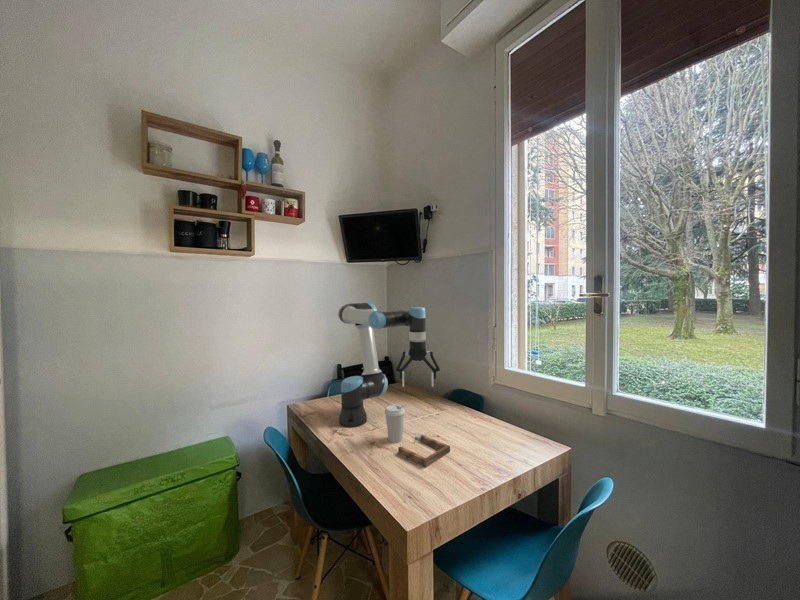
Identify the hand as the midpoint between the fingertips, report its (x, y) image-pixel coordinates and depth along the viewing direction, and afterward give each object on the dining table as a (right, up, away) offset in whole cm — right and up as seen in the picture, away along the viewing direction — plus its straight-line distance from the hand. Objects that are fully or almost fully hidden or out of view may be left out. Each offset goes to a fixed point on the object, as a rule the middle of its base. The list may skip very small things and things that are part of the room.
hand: (417, 386), depth 141 cm
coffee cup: (-10, -26, +2) cm, 28 cm away
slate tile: (+2, -25, +2) cm, 26 cm away
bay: (+2, -26, -10) cm, 28 cm away
